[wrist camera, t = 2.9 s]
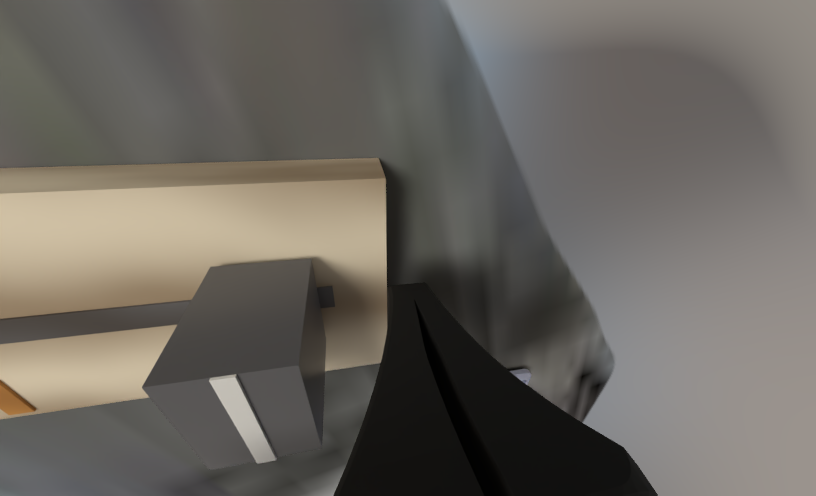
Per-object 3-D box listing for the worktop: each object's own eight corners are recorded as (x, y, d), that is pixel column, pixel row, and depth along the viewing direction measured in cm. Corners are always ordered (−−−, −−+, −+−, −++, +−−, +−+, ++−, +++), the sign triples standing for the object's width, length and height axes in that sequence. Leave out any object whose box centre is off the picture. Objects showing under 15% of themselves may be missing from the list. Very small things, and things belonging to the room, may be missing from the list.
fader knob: (326, 339, 12) (321, 451, 9) (245, 349, 11) (208, 473, 8) (311, 258, 10) (298, 368, 6) (210, 266, 9) (139, 390, 6)
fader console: (382, 329, 16) (387, 363, 14) (-108, 391, 12) (-180, 448, 10) (378, 157, 11) (386, 179, 9) (-457, 180, 7) (-705, 223, 5)
